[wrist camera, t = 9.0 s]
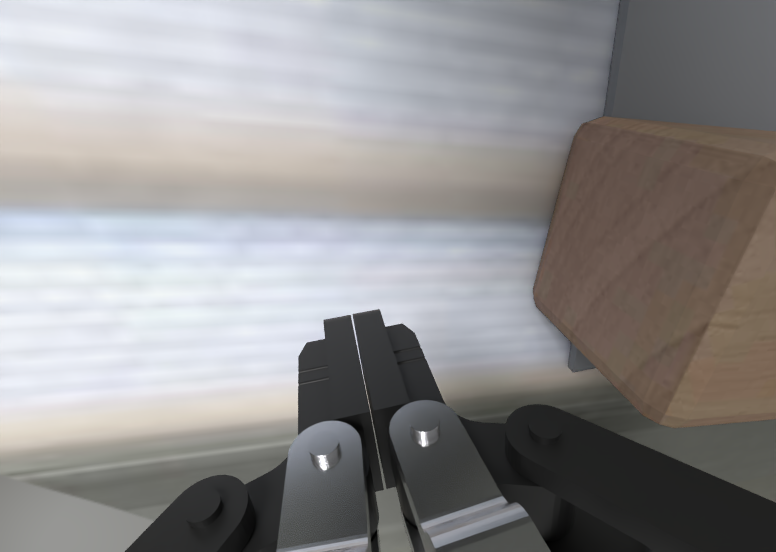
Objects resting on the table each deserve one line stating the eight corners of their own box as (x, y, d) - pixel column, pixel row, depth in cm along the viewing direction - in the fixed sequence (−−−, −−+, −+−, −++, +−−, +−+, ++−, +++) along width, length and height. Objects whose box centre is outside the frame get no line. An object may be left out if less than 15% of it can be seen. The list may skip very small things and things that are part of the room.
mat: (636, -119, 16) (648, -125, 16) (969, -134, 18) (989, -140, 18) (567, 366, 27) (573, 372, 27) (779, 323, 29) (788, 328, 29)
